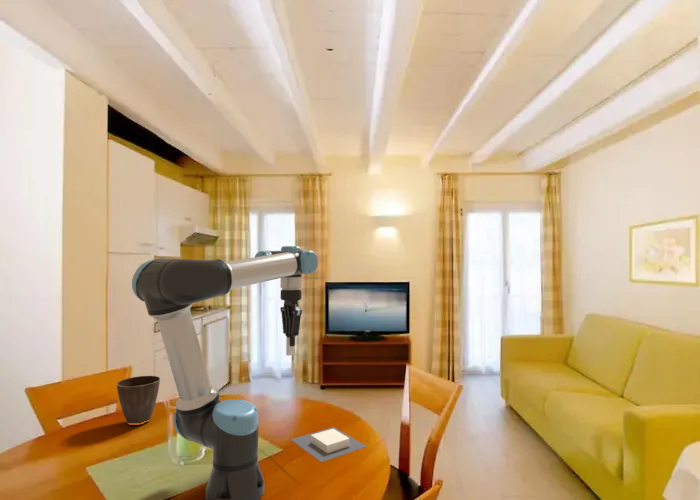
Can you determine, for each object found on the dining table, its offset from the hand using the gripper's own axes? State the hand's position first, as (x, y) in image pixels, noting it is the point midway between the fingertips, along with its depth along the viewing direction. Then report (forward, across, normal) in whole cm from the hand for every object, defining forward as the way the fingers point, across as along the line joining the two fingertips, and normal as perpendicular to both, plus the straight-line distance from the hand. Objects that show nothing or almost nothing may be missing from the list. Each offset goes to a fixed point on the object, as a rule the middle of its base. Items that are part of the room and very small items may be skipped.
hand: (290, 354), depth 149 cm
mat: (+28, -14, -7) cm, 33 cm away
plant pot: (+29, +44, +43) cm, 68 cm away
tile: (+27, -11, -7) cm, 29 cm away
